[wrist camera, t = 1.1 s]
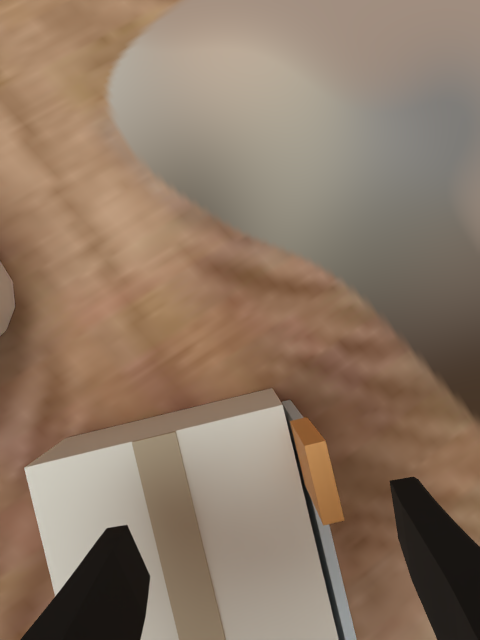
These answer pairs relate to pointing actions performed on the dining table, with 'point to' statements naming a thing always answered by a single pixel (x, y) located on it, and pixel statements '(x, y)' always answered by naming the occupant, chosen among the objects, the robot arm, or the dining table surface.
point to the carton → (194, 519)
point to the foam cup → (5, 299)
